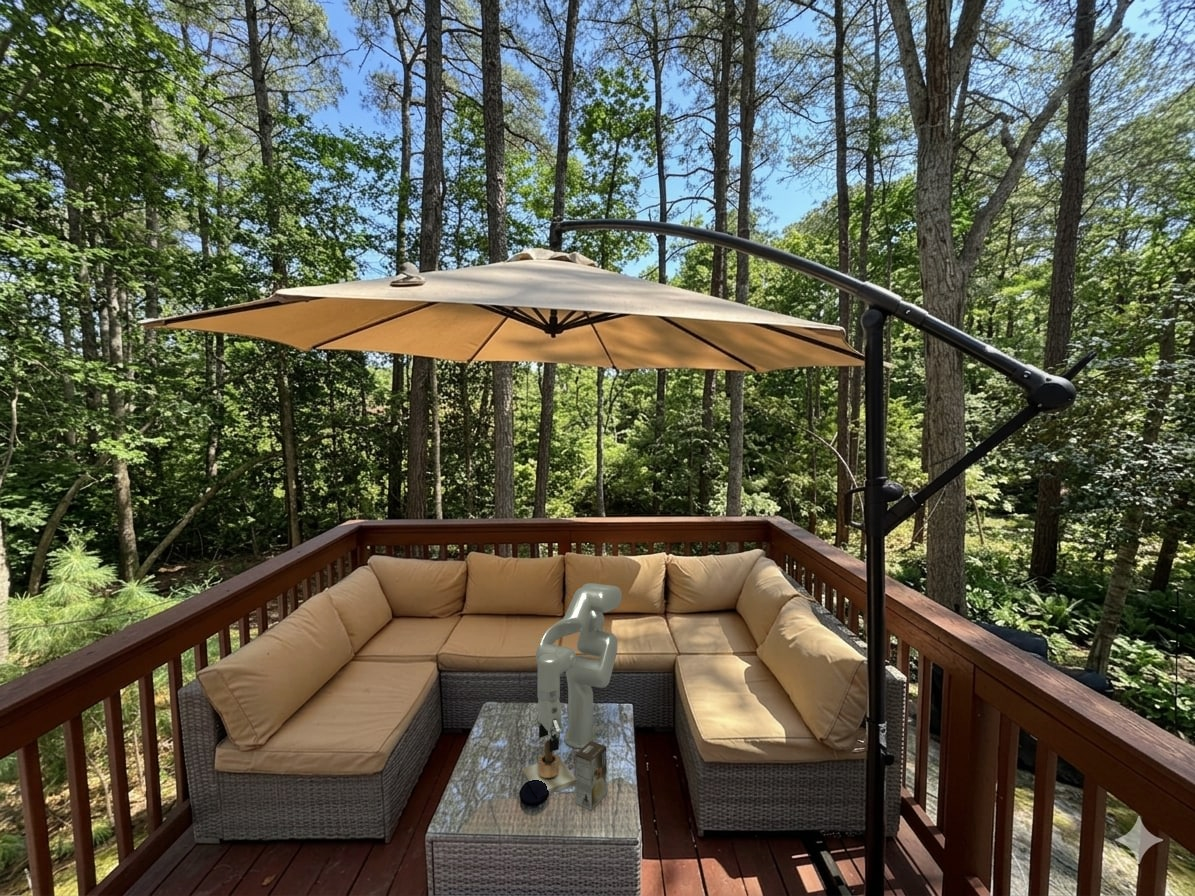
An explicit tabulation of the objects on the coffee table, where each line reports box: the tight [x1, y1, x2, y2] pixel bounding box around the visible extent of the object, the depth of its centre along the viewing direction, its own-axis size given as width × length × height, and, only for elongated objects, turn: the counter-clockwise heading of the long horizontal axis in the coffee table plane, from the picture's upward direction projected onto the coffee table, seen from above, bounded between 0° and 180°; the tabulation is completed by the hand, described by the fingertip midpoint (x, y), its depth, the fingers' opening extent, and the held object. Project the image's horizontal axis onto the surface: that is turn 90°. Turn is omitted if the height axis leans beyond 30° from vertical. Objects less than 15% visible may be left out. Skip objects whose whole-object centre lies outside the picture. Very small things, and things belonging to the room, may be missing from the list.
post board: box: [521, 739, 576, 795], centre depth 176 cm, size 14×14×13 cm
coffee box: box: [575, 741, 608, 811], centre depth 166 cm, size 9×6×16 cm
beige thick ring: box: [537, 752, 560, 778], centre depth 176 cm, size 7×7×4 cm
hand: (548, 742), depth 176 cm, fingers open, 8 cm apart
